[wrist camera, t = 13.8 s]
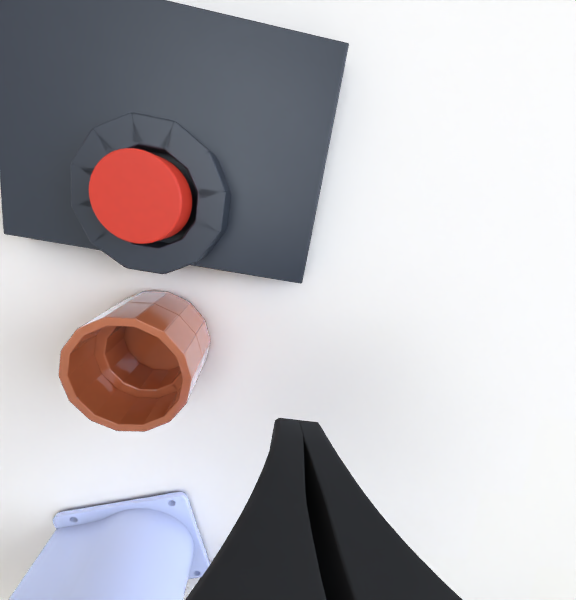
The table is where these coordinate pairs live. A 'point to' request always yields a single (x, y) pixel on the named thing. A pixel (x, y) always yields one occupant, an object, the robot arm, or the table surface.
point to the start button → (139, 196)
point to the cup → (136, 361)
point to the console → (167, 126)
